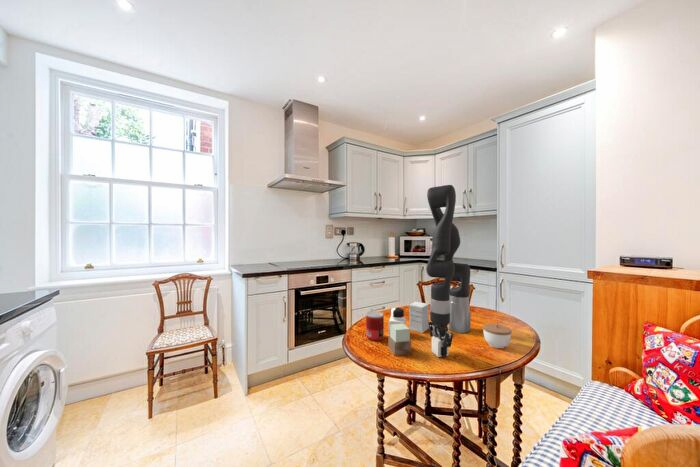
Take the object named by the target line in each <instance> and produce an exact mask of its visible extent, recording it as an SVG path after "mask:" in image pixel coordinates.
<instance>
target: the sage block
mask: <svg viewBox="0 0 700 467" xmlns="http://www.w3.org/2000/svg"><path fill="white" fill-rule="evenodd" d="M410 335H411V329H409V326H407V324H406V325H404V324H391V325H390V335H389V336H390V337H391V338H392V339H393V340H394V341H395V342H405V341H411V339H410Z"/></svg>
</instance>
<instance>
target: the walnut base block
mask: <svg viewBox="0 0 700 467" xmlns="http://www.w3.org/2000/svg"><path fill="white" fill-rule="evenodd" d="M387 338H388V344H387V347H388V349H389V350H390V351H391V353H392V354H393V355H394V356H401V355H410V354H412V340H410V341H405V342H395V341H394V340H393V339H392V338H391V337H390V335H388V336H387Z"/></svg>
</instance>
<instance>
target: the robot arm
mask: <svg viewBox="0 0 700 467" xmlns="http://www.w3.org/2000/svg"><path fill="white" fill-rule="evenodd" d="M456 193H457V192H456V189H455V187H454V186H453V185H452V184H446V185H439V186H432V187H430V188H428V189H427V194H426V197H427V202H428V205H429V209H430V212H431V215H432V217H433V221H434V223H435V228H434V229H433V230H434V231H433V233H432V237H431V238H432V240H431V252H430V255H429V259H428V261H427V264H426V269H425V271H426V273H427V275H428V276H429V277H430V278H439V279H444V280H443V281H442V282H435V283H433V284H431V288H430V302H429V303H430V304H429V310H430V312H429V315H430V316H429V322H428V324H429V329H428V331H429V337H431V338H432V337H433V336H434V337H436V336H438V338H439V340H440V341H441V357H446V355H447V347H449V348H451V347H452V342H453V337H454V333H453V332H455V333H459V334H466V333H469V332H471V324H472V323H471V318H472V316H471V315H472V314H471V313H472V312H471V311H470V283H471V282H470V281H471V267H470V265H469V264H468V263H463V262H462V263H460V262H459V263H458V262H454V260H453V258H454V255H455V254H456V253H457V250H458V249H459V248H460V245H461V237H460V232H459V228H458V227H457V225H455V224H454V223H453V220H454V214H455V208H456V199H457V198H456V197H457V195H456ZM442 208H445V210H444V213H443V211H442ZM439 257H442V259H438V258H439ZM452 282H456V283H458V282H459V283H460V285H458V286H456V287H451V283H452ZM449 330H450V331H451V332H450V331H449ZM441 337H444V338H441ZM443 340H444V343H443Z"/></svg>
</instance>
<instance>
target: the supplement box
mask: <svg viewBox="0 0 700 467" xmlns="http://www.w3.org/2000/svg"><path fill="white" fill-rule="evenodd" d="M408 306H409V308H408V310H409V311H408V314H409V317H408V318H409V324H408V328H409V329H410V331H414V332H418V333H421V334H423V333H425V332H426V331H427V330H429V324H428V322H430V316H429V315H430V312H429V310H430V304H429V303H425V302H419V301H414V302H412V303H410V304H409V305H408Z"/></svg>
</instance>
